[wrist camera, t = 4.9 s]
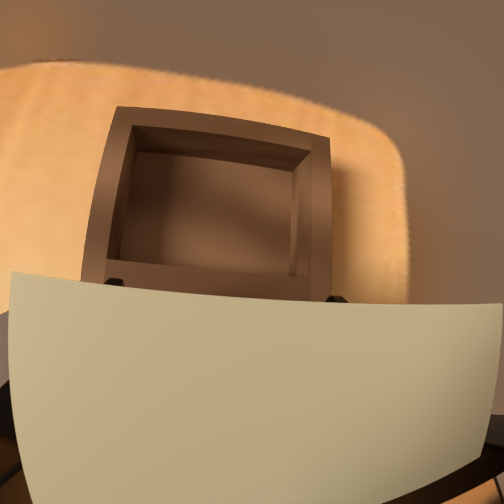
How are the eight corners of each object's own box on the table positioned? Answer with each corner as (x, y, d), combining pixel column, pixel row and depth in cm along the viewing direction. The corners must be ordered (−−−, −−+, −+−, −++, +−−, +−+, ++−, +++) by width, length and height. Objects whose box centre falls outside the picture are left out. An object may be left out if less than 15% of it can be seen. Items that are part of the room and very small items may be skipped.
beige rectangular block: (261, 356, 15) (479, 456, 3) (143, 349, 14) (33, 507, 2) (264, 308, 16) (502, 302, 3) (146, 298, 15) (11, 270, 2)
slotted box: (296, 372, 19) (324, 387, 15) (96, 361, 16) (76, 375, 12) (304, 164, 21) (329, 138, 17) (125, 140, 18) (117, 106, 15)
